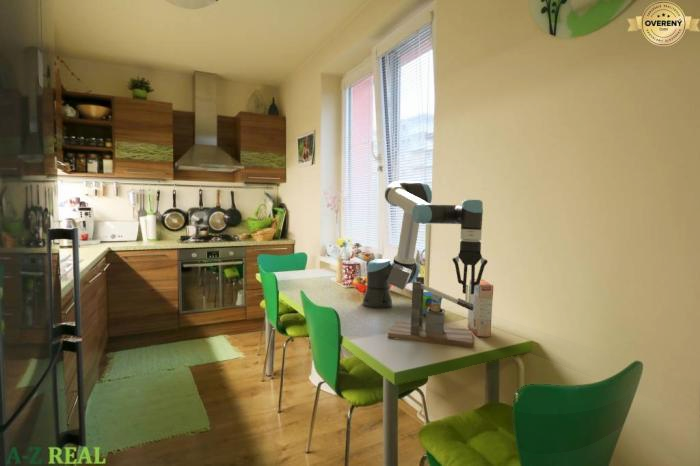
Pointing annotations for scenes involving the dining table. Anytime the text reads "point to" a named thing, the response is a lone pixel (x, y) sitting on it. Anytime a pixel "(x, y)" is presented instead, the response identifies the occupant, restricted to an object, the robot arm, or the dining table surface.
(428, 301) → the snack cup
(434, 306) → the tan ball
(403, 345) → the dining table surface
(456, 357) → the dining table surface
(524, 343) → the dining table surface
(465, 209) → the robot arm
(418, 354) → the dining table surface
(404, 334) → the press base
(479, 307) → the cracker box
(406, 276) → the lever
